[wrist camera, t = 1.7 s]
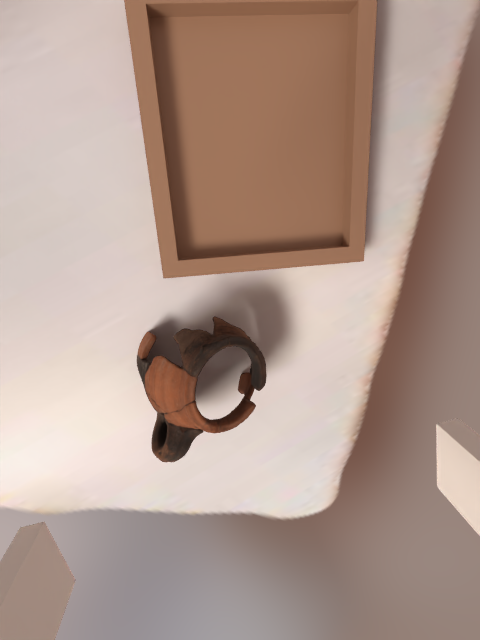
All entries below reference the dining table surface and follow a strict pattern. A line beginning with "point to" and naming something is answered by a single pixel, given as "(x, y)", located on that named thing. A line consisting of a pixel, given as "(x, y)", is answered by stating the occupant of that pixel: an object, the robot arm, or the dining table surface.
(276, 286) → the dining table surface
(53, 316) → the dining table surface
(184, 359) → the pottery mug
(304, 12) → the serving tray
